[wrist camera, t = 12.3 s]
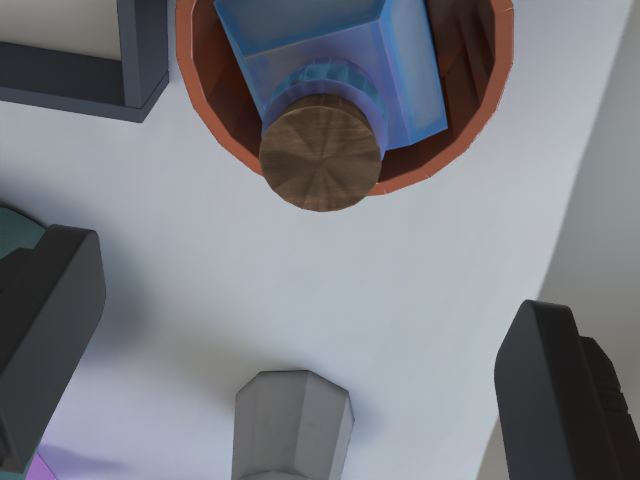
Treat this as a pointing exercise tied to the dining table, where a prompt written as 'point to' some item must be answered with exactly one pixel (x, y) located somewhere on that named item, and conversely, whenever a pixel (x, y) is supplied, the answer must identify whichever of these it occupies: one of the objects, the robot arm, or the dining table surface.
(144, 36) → the tray
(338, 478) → the coffee maker
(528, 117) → the dining table surface
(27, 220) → the flower pot
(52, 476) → the teapot
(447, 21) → the round terracotta bowl
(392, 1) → the perfume bottle
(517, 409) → the robot arm
